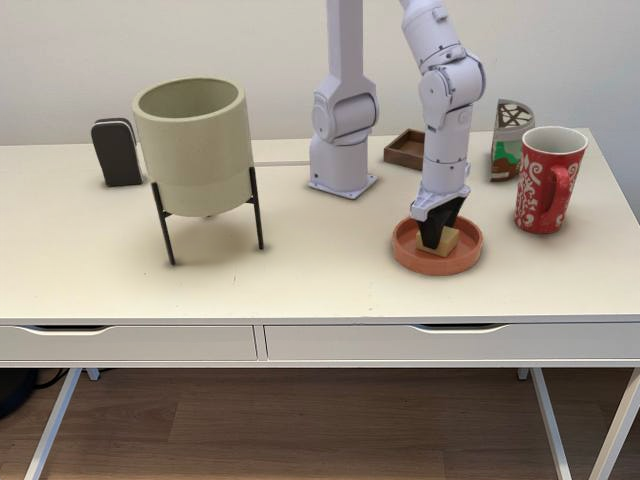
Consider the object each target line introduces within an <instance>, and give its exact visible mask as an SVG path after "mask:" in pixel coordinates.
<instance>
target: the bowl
mask: <svg viewBox="0 0 640 480" xmlns="http://www.w3.org/2000/svg"><path fill="white" fill-rule="evenodd" d="M453 229H457V230H459V235H458V243H457V245H456V246H455V247H454V249H453V250H452V251H451V252H450V253H449V254H448V255H447V257H443V256H439V255H436V254H433V253H430V252H427V251H424V250H420V249H417V248H415V246H416V234H417V233H418V232H419V231H420V230H419V226H418V224H417V221H416V219H413V218H411V215H409V216H407V217H406V218H404V219H402V220H400V222H398V223H397V224H396V225H395V226H394V229H393V231H392V243H391V245H392V249H391V251H392V254H393V257H394V258H395V259H396V261H397V262H398V263H399V264H400V265H401V266H403V267H404V268H406V269H408V270H409V271H413V272H415V273H419V274H423V275H429V276H450V275H455V274H458V273H459V274H460V273H462V272H465V271H467V270H469V269H471V268H472V267H473V266H475V264H476V263H477V262H478V261H479V260H480V257H481V254H482V253H481V252H482V247H483V242H484V236H483V232H482V230H481V229H480V228H479V225H477V224H476V223H474V222H473V221H472V220H470V219H468V218H466V217H464V216H462V215H459V214H458V216H457V218H456V221H455V224H454V227H453Z"/></svg>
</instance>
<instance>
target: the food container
mask: <svg viewBox="0 0 640 480" xmlns="http://www.w3.org/2000/svg"><path fill="white" fill-rule="evenodd" d="M535 116H536V115H535V113H534V110H533V108H531V107H530V106H528V105H527V104H525V103H523V102H521V101H517V100H512V99H506V98H498V100H497V106H496V112H495V120H494V126H493V134H492V135H493V136H492V140H491V148H490V157H489V179H490V180H489V182H490V183H500V182H501V183H502V182H506V181H509V180H512V179H514V178H516V177H517V176H519V172H520V162H521V154H522V145H523V144H522V136H523V134H524V133H525V132H527V131H529V130H531V129H534V128H536V117H535Z"/></svg>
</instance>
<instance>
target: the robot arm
mask: <svg viewBox="0 0 640 480" xmlns="http://www.w3.org/2000/svg"><path fill="white" fill-rule="evenodd" d="M398 2H399V4H400V6H401V7H402V9H403V11H404V12H403V17H402V20H401V25H400V28H401V30H402V33H403V36H404V38H405V40H406V42H407V45H408V47H409V49H410V51H411V54H412V56H413V58H414V61H415V63H416V65H417V68H418V70H419V72H420V73H419V74H420V75H421V80H420V82H418V84H417V89H418V96H419V100H420V102H421V105H422V118H423V122H424V123H425V131H424V132H425V144H424V157H423V171H421V172H422V173H421V179H420V181H419V186H418V189H417V192H416V193H417V194H416V196H415V199H414V200H413V201H412V202H411V203H410V207H409V209H410V216H411V218H413V219H416V221H417V224H418V226H419V230H420V234H421V239H422V244H423V246H424V247H427V248H430V249H433V250H436V249H437V247H438V245H439V242H440V239H441V235H442V231H443V228H444V226H446V227H450V228H453V227H454V224H455V221H456V218H457V216H458V215H459V213H460V211H461V208H462V207H463V205H464V203H465V202H466V199H467V198H468V197H469V196H470V194H471V193H472V187H471V186H469V185H466V181H467V178H468V177H469V176H470V173H471V166H472V162H468V161H467V158H468V151H469V142H470V135H471V128H472V117H473V111H474V104H475V103H476V102H478V101H480V100H481V99H482V98H483V96H484V94H485V92H486V87H487V75H486V70H485V67H484V63H483V62H482V60H481V58H479V57H478V56H477V55H476V54H475V53H472V52H471V51H470V48H469V47H467V46H465V45H464V46H463V45H462V41H461V40H460V38H459V35H458V32H457V30H456V28H455V26H454V23H453V21H452V19H451V18H452V17H451V16H450V14H449V12H448V9H447V7H446V5H445V2H444V1H443V0H398ZM325 4H326V5H325V6H326V7H325V8H326V29H327V31H326V33H327V34H326V35H327V56H328V74H327V75H326V77H325V78H324V79H323V80H322V81H321V83H320V84H318V86H317V87H316V88H315V89H314V91H313V105H312V109H311V123H312V127H313V129H314V134H313V135H312V137H311V140H310V143H309V150H308V153H309V154H308V155H309V174H310V175H309V176H310V181H309V182H308V186H307V187H310V188H312V189H316V190H320V191H323V192H326V193H329V194H333V195H336V196H339V197H343V198H347V199H350V200H356V199H357V198H358V197H359V196H361V195H362V194H363V193H364V192H365V191H367V189H369V187H371V186H372V185H373V184H374V183H375V182H376V181H377V180H378V177H377V176H375V175H371V174H368V161H369V160H368V156H369V153H368V151H369V148H368V147H369V136H370V135H372V133H373V132H372V131H373V129H372V128H373V127H375V126H376V125H377V124H378V122H379V118H380V112H381V111H380V104H379V100H378V96H377V85H376V83H375V82H374V81H373V80H372V79H371V78H370V77H369V76H367V75H365V74H364V0H325Z"/></svg>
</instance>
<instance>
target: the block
mask: <svg viewBox="0 0 640 480" xmlns="http://www.w3.org/2000/svg"><path fill="white" fill-rule="evenodd" d="M458 235H459V230H457V229H453V228H450V227H446V226H444V228H443V231H442V235H441V239H440V242H439V245H438V247H437V249H436V250H433V249H430V248H427V247H424V246H423V244H422V239H421V234H420V231H419V232H418V233H417V234H416V246H415V248H417V249H420V250H424V251H427V252H430V253H433V254H436V255H439V256H443V257H447V255H448V254H449V253H450V252H451V251H452V250H453V249H454V247H455V246H456V245H457V243H458Z"/></svg>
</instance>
